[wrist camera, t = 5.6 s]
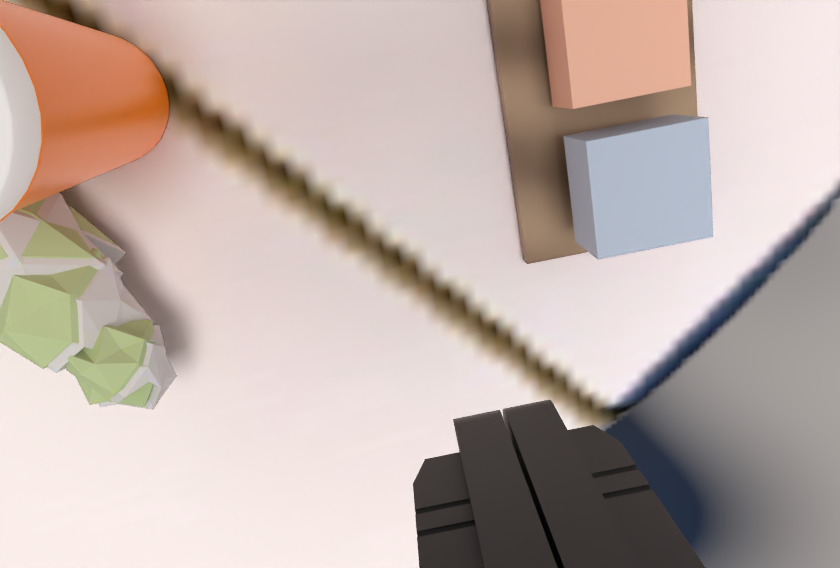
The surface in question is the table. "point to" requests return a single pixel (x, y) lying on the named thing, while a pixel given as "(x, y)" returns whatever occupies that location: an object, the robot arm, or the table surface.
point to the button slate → (640, 185)
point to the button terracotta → (614, 49)
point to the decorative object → (77, 307)
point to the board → (555, 125)
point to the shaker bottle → (70, 105)
